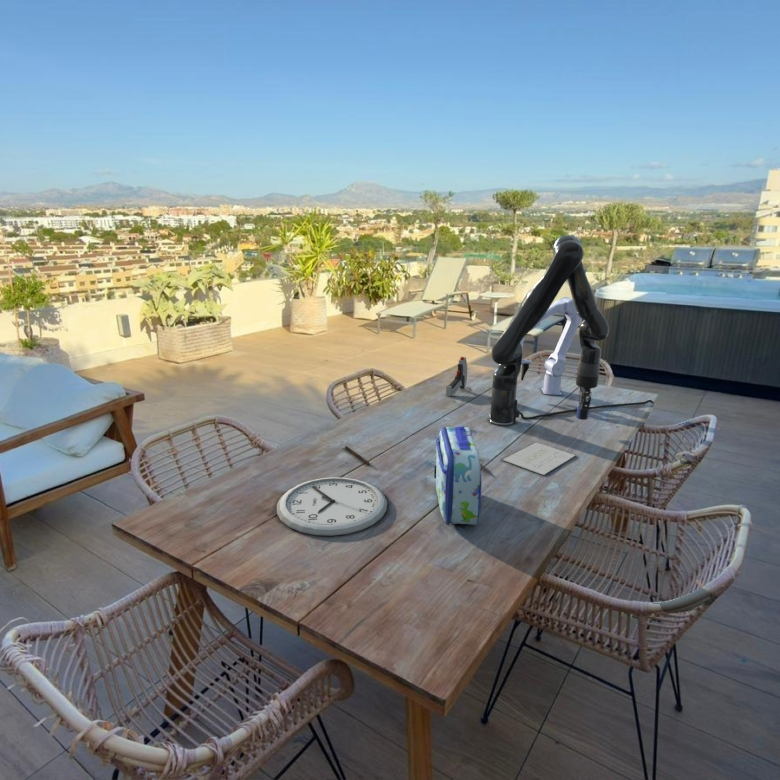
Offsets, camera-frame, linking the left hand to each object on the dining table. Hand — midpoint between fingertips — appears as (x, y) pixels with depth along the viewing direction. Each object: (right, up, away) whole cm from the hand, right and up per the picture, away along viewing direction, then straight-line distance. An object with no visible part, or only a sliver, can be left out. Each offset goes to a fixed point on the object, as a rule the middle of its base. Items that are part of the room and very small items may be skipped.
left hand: (582, 416), depth 199 cm
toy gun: (-42, +9, +43) cm, 61 cm away
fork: (-45, -14, -29) cm, 55 cm away
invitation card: (-23, -13, -24) cm, 36 cm away
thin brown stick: (-84, -12, -25) cm, 89 cm away
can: (0, 0, 0) cm, 0 cm away
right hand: (-16, +15, +43) cm, 48 cm away
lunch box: (-55, -22, -55) cm, 81 cm away
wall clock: (-89, -21, -56) cm, 107 cm away
